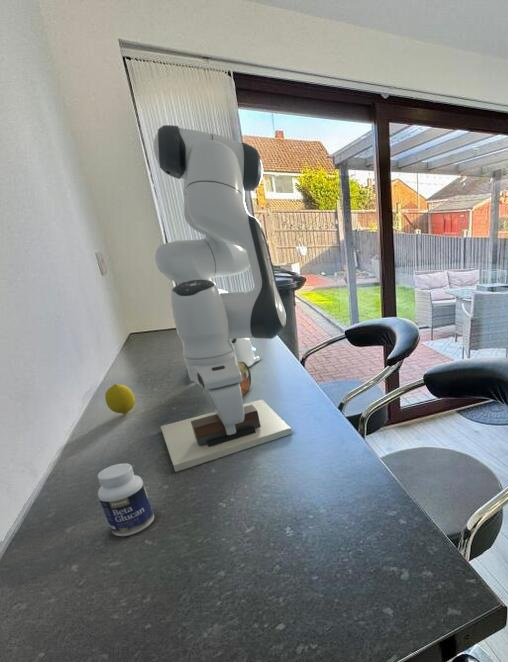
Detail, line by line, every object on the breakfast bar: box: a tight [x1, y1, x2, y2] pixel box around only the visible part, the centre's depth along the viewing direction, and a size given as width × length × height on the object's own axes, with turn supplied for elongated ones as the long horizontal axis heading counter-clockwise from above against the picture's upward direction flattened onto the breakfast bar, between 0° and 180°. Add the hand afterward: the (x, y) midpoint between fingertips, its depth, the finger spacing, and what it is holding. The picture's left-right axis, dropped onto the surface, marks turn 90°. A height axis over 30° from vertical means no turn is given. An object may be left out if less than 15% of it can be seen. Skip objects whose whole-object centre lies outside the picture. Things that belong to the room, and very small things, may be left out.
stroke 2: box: [223, 431, 241, 442], centre depth 81 cm, size 1×3×1 cm, turn 127°
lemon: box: [104, 383, 136, 415], centre depth 96 cm, size 6×6×8 cm
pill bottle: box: [97, 462, 155, 537], centre depth 59 cm, size 5×5×10 cm
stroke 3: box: [239, 427, 256, 437], centre depth 83 cm, size 1×3×1 cm, turn 128°
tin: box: [237, 362, 252, 397], centre depth 104 cm, size 15×3×8 cm, turn 179°
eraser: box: [191, 405, 261, 446], centre depth 83 cm, size 4×12×4 cm, turn 127°
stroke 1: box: [207, 436, 225, 447], centre depth 80 cm, size 1×3×1 cm, turn 127°
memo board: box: [160, 398, 292, 473], centre depth 87 cm, size 20×22×2 cm
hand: (228, 428), depth 83 cm, fingers closed on eraser, 4 cm apart
